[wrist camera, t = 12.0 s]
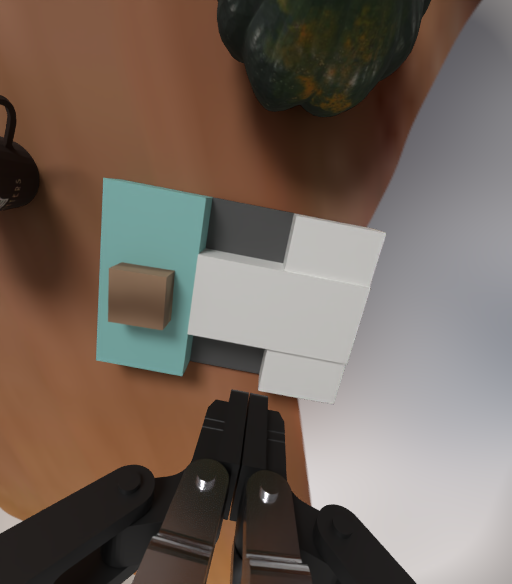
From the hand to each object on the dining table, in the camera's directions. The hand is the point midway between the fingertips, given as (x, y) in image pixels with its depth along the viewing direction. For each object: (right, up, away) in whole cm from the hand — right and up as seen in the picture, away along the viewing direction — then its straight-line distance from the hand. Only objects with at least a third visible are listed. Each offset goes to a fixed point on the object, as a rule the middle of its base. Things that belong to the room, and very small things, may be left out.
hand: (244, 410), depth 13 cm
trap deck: (-2, +5, +21) cm, 22 cm away
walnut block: (-10, +5, +18) cm, 21 cm away
